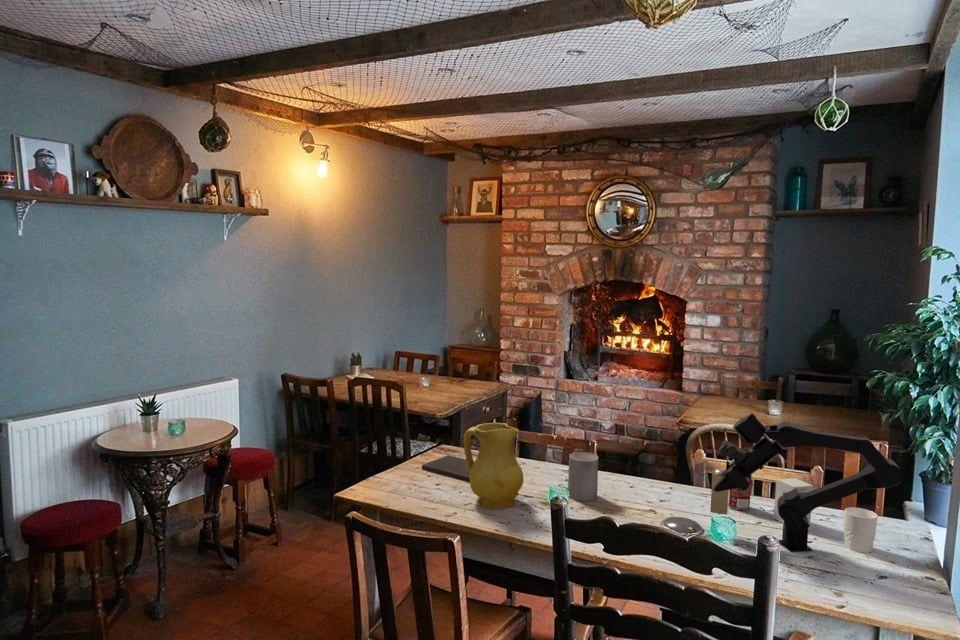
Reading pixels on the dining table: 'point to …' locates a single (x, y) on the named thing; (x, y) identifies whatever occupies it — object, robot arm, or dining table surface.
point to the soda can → (739, 498)
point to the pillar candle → (583, 476)
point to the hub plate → (682, 525)
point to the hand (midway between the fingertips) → (715, 487)
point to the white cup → (859, 529)
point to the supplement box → (788, 486)
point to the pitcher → (494, 465)
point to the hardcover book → (449, 467)
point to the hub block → (718, 493)
